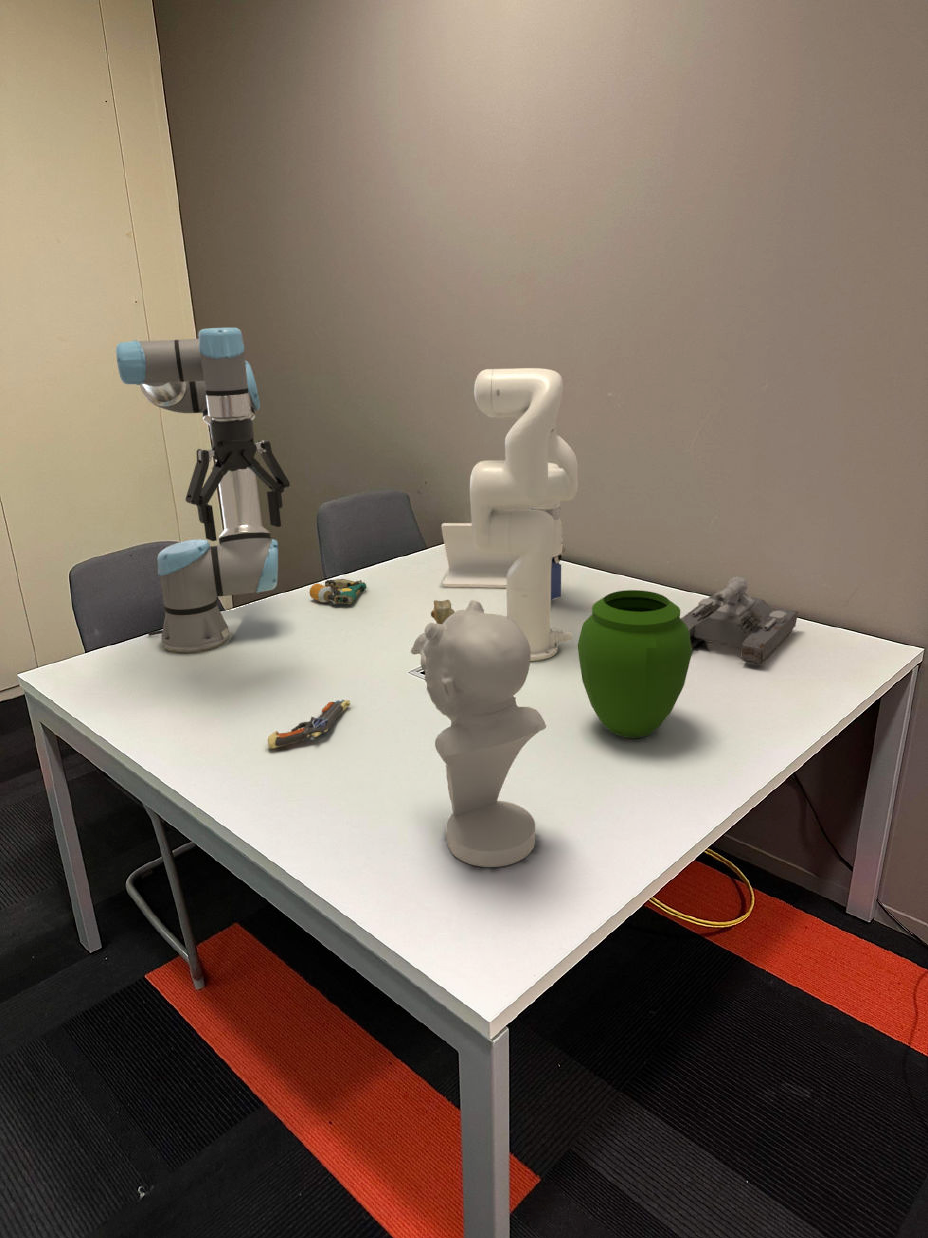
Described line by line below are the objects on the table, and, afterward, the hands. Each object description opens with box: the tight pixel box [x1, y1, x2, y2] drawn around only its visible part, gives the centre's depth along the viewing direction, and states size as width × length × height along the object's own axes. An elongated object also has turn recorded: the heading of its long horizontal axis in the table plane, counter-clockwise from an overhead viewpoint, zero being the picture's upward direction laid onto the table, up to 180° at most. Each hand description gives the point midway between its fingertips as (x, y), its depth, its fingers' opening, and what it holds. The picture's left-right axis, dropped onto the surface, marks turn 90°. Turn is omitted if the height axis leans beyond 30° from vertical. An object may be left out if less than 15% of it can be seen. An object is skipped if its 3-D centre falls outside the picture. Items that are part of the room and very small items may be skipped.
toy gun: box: [267, 699, 351, 749], centre depth 157 cm, size 3×19×10 cm
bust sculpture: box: [410, 599, 547, 868], centre depth 121 cm, size 16×24×35 cm
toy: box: [680, 576, 799, 666], centre depth 187 cm, size 25×20×15 cm
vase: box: [576, 589, 693, 739], centre depth 149 cm, size 20×20×24 cm
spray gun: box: [308, 578, 367, 605], centre depth 226 cm, size 4×17×15 cm
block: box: [551, 562, 562, 601], centre depth 217 cm, size 5×7×9 cm
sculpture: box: [430, 599, 456, 624], centre depth 177 cm, size 6×7×15 cm
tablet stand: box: [441, 522, 519, 589], centre depth 235 cm, size 18×25×17 cm
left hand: (244, 532), depth 161 cm, fingers open, 13 cm apart
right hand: (544, 583), depth 217 cm, fingers closed on block, 5 cm apart
